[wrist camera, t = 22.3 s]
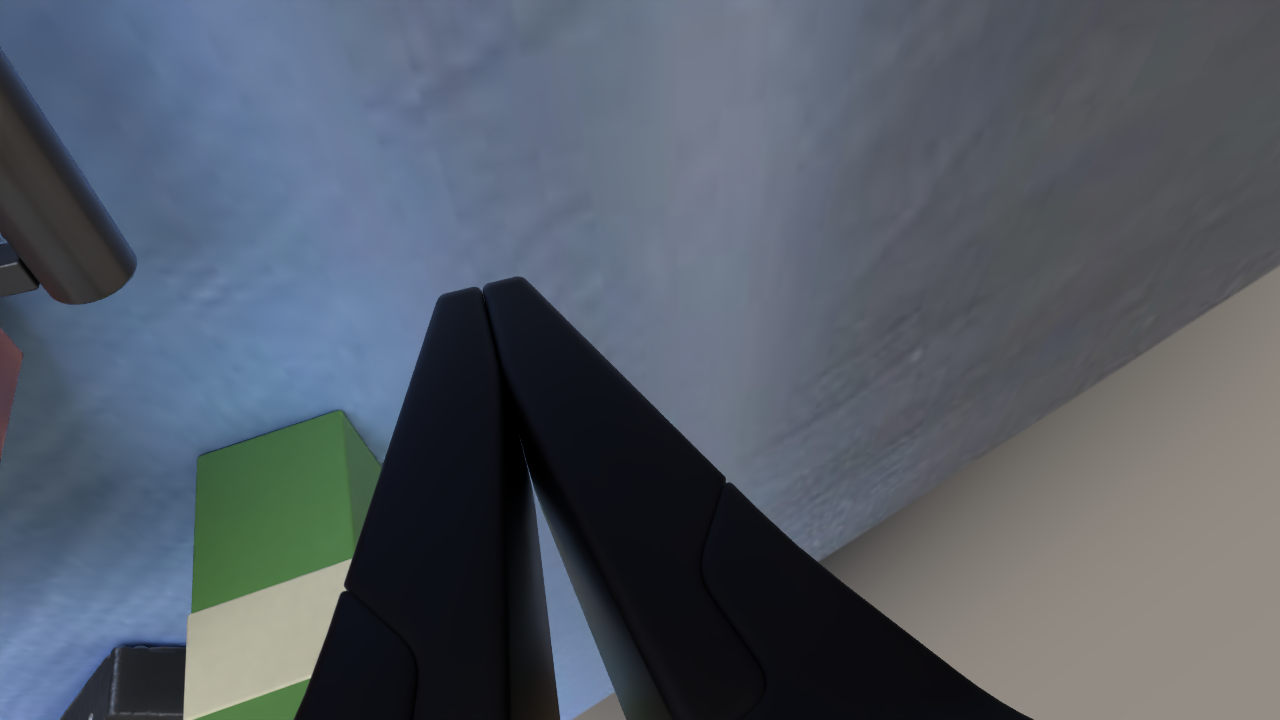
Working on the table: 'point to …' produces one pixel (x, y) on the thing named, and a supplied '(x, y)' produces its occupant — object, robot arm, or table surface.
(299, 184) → the table surface
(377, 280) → the table surface
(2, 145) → the drawer
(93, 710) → the disk drive
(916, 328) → the table surface
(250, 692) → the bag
